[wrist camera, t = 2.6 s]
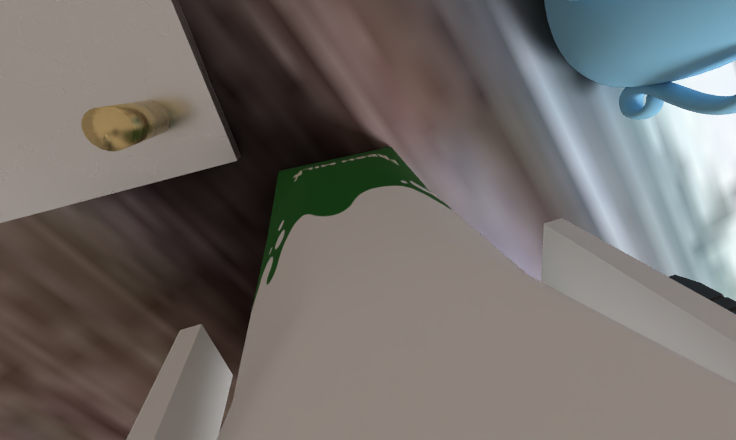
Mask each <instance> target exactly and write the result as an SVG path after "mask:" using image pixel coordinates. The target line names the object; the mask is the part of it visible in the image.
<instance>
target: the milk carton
mask: <svg viewBox="0 0 736 440" xmlns="http://www.w3.org/2000/svg"><path fill="white" fill-rule="evenodd" d="M217 440H736V384H735V383H733V382H732V381H730V380H728V379H726V378H724V377H722V376H720V375H718V374H716V373H714V372H712V371H710V370H709V369H707V368H705V367H703V366H701V365H699V364H697V363H695V362H693V361H691V360H689V359H687V358H685V357H684V356H682V355H680V354H678V353H676V352H674V351H672V350H670V349H668V348H666V347H664V346H662V345H661V344H659V343H657V342H655V341H653V340H651V339H649V338H647V337H645V336H643V335H641V334H639V333H638V332H636V331H634V330H632V329H630V328H628V327H626V326H624V325H622V324H620V323H618V322H616V321H615V320H613V319H611V318H609V317H607V316H605V315H603V314H601V313H599V312H597V311H595V310H594V309H592V308H590V307H588V306H586V305H584V304H582V303H580V302H578V301H576V300H574V299H573V298H571V297H569V296H567V295H565V294H563V293H561V292H559V291H557V290H555V289H553V288H552V287H550V286H548V285H546V284H544V283H542V282H540V281H539V280H537V279H535V278H533V277H531V276H529V275H527V274H526V273H525V272H524V271H523V270H522V269H520V268H519V267H518V266H517V265H516V264H514V263H513V262H512V261H511V260H510V259H509V258H507V257H506V256H505V255H504V254H503V253H501V252H500V251H499V250H498V249H497V248H496V247H495V246H493V245H492V244H491V243H490V242H489V241H488V240H487V239H485V238H484V237H483V236H482V235H481V234H480V233H478V232H477V231H476V230H475V229H474V228H473V227H472V226H470V225H469V224H468V223H467V222H466V221H465V220H463V219H462V218H461V217H460V216H459V215H458V214H457V213H455V212H454V211H453V210H452V209H451V208H450V207H448V206H447V205H446V204H445V203H444V202H443V201H442V200H440V199H439V198H438V197H437V196H436V195H435V194H434V193H432V192H431V191H430V190H429V189H428V188H427V187H426V186H425V185H424V184H423V183H422V182H421V181H420V180H419V178H418V177H417V176H416V175H415V174H414V173H413V172H412V170H411V169H410V168H409V167H408V166H407V165H406V164H405V162H404V161H403V160H402V159H401V158H400V157H399V156H398V154H397V153H396V152H395V151H394V150H393V149H392V148H391V147H386V148H382V149H377V150H373V151H368V152H363V153H359V154H354V155H350V156H345V157H340V158H336V159H331V160H327V161H322V162H317V163H313V164H308V165H304V166H299V167H294V168H290V169H285V170H281V171H278V178H277V184H276V190H275V196H274V202H273V208H272V214H271V219H270V225H269V231H268V237H267V242H266V246H265V250H264V255H263V260H262V264H261V269H260V274H259V279H258V283H257V288H256V293H255V297H254V302H253V307H252V312H251V316H250V321H249V326H248V330H247V335H246V340H245V344H244V349H243V354H242V358H241V363H240V368H239V373H238V378H237V383H236V388H235V393H234V398H233V402H232V405H231V407H230V410H229V412H228V414H227V417H226V419H225V421H224V424H223V426H222V428H221V431H220V433H219V435H218V437H217Z"/></svg>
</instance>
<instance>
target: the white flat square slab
mask: <svg viewBox="0 0 736 440" xmlns="http://www.w3.org/2000/svg"><path fill="white" fill-rule="evenodd" d="M240 157H241V154H240V152H239V149H238V147H237V144H236V142H235V139H234V137H233V135H232V132H231V130H230V127H229V125H228V122H227V120H226V117H225V115H224V112H223V110H222V107H221V105H220V102H219V100H218V97H217V95H216V92H215V90H214V87H213V85H212V83H211V80H210V78H209V75H208V73H207V70H206V68H205V65H204V63H203V60H202V58H201V55H200V53H199V50H198V48H197V45H196V43H195V40H194V38H193V36H192V33H191V31H190V28H189V26H188V23H187V21H186V18H185V16H184V13H183V11H182V8H181V6H180V3H179V1H178V0H0V223H2V222H6V221H10V220H13V219H17V218H21V217H25V216H29V215H32V214H36V213H40V212H44V211H48V210H52V209H55V208H59V207H63V206H67V205H71V204H74V203H78V202H82V201H86V200H90V199H93V198H97V197H101V196H105V195H109V194H113V193H116V192H120V191H124V190H128V189H132V188H135V187H139V186H143V185H147V184H151V183H154V182H158V181H162V180H166V179H170V178H174V177H177V176H181V175H185V174H189V173H193V172H196V171H200V170H204V169H208V168H212V167H216V166H219V165H223V164H227V163H231V162H235V161H238V159H239V158H240Z"/></svg>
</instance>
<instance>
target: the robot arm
mask: <svg viewBox="0 0 736 440" xmlns="http://www.w3.org/2000/svg"><path fill="white" fill-rule="evenodd" d="M542 281H543V282H544V283H545V284H547V285H548V286H550V287H552V288H553V289H555V290H557V291H559V292H561V293H563V294H565V295H567V296H569V297H571V298H573V299H574V300H576V301H578V302H580V303H582V304H584V305H586V306H588V307H590V308H592V309H594V310H595V311H597V312H599V313H601V314H603V315H605V316H607V317H609V318H611V319H613V320H615V321H616V322H618V323H620V324H622V325H624V326H626V327H628V328H630V329H632V330H634V331H636V332H638V333H639V334H641V335H643V336H645V337H647V338H649V339H651V340H653V341H655V342H657V343H659V344H661V345H662V346H664V347H666V348H668V349H670V350H672V351H674V352H676V353H678V354H680V355H682V356H684V357H685V358H687V359H689V360H691V361H693V362H695V363H697V364H699V365H701V366H703V367H705V368H707V369H709V370H710V371H712V372H714V373H716V374H718V375H720V376H722V377H724V378H726V379H728V380H730V381H732V382H733V383H735V384H736V301H734V300H732V299H730V298H728V297H726V298H725V297H724V296H723V295H722V294H721V293H719V292H717V291H715V290H713V289H711V288H709V287H707V286H705V285H703V284H701V283H699V282H696V281H693V280H690V279H687V278H683V277H680V276H677V275H673V276H670V277H667V276H666V275H664V274H662V273H660V272H658V271H657V270H655V269H653V268H651V267H649V266H648V265H646V264H644V263H642V262H640V261H638V260H637V259H635V258H633V257H631V256H629V255H628V254H626V253H624V252H622V251H620V250H619V249H617V248H615V247H613V246H611V245H610V244H608V243H606V242H604V241H602V240H601V239H599V238H597V237H595V236H593V235H592V234H590V233H588V232H586V231H584V230H583V229H581V228H579V227H577V226H575V225H574V224H572V223H570V222H568V221H566V220H565V219H563V218H561V219H558V220H554V221H551V222H547V223H544V232H543V261H542ZM232 377H233V375H232V373H231V371H230V370H229V368H228V366H227V365H226V363H225V361H224V360H223V358H222V356H221V355H220V353H219V352H218V350H217V348H216V347H215V345H214V343H213V342H212V340H211V338H210V337H209V335H208V334H207V332H206V330H205V329H204V327H203V325H202V324H199V325H196V326H193V327H189V328H186V329H182V330H180V331H179V333H178V335H177V337H176V339H175V341H174V343H173V345H172V347H171V350H170V352H169V354H168V356H167V358H166V360H165V362H164V364H163V366H162V368H161V370H160V372H159V374H158V376H157V378H156V380H155V382H154V384H153V386H152V388H151V390H150V392H149V394H148V397H147V399H146V401H145V403H144V405H143V407H142V409H141V411H140V413H139V415H138V417H137V419H136V421H135V423H134V425H133V427H132V429H131V431H130V433H129V435H128V437H127V439H126V440H217V437H218V435H219V431H220V427H221V422H222V418H223V414H224V410H225V406H226V402H227V397H228V393H229V389H230V385H231V381H232Z"/></svg>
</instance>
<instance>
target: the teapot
mask: <svg viewBox="0 0 736 440" xmlns="http://www.w3.org/2000/svg"><path fill="white" fill-rule="evenodd" d="M544 2H545V9H546V14H547V19H548V23H549V26H550V29H551V32H552V35H553V38H554V40H555V42H556V45H557V47H558V49H559V51H560V52H561V54H562V55H563V56H564V58H565V59H566V61H567V62H568V63H569V64H570V65H571V66H572V67H573V68H574V69H575V70H576V71H578V72H579V73H581V74H582V75H583V76H585V77H587V78H588V79H590V80H592V81H595V82H597V83H599V84H602V85H607V86H611V87H626V88H625V89H624V90H623V91H622V93H621V95H620V99H619V105H620V109H621V112H622V113H623V115H625V116H626V117H628V118H631V119H637V120H640V119H647V118H650V117H652V116H654V115H656V114H657V113H658V112H659V111H660V110H661V108H662V106H663V101H665V102H667V103H670V104H672V105H675V106H677V107H680V108H683V109H686V110H689V111H693V112H697V113H702V114H710V115H723V114H731V113H736V95H734V96H715V95H710V94H705V93H701V92H698V91H695V90H692V89H690V88H687V87H684V86H681V85H678V84H675V83H672V81H676V80H680V79H684V78H688V77H691V76H695V75H698V74H701V73H704V72H707V71H710V70H713V69H716V68H719V67H721V66H723V65H726V64H728V63H730V62H733V61H735V60H736V0H544ZM645 94H647V97H646V103H645V106H644V105H643V97H644V95H645Z"/></svg>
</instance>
